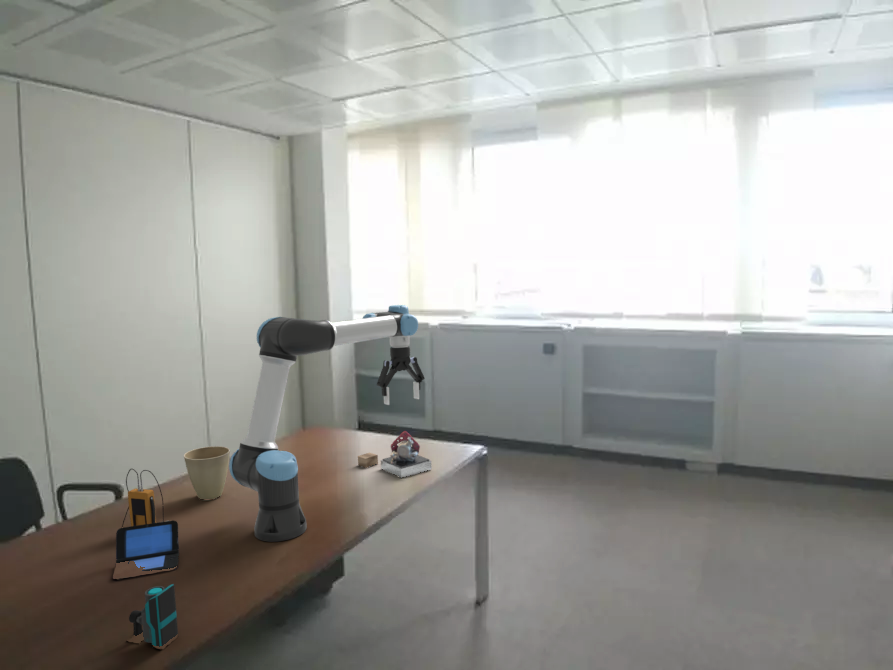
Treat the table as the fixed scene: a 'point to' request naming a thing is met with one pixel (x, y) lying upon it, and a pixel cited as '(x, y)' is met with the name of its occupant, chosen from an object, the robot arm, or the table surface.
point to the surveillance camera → (157, 616)
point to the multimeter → (141, 504)
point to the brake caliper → (404, 448)
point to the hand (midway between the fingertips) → (401, 401)
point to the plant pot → (208, 470)
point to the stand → (406, 466)
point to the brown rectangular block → (367, 459)
